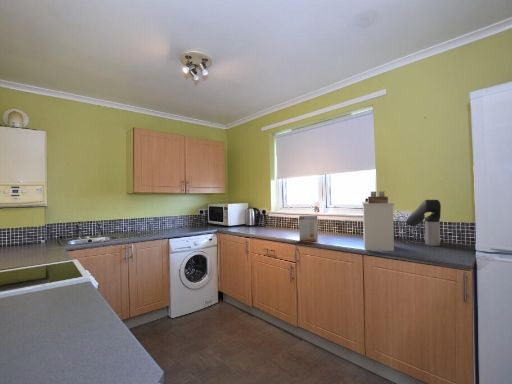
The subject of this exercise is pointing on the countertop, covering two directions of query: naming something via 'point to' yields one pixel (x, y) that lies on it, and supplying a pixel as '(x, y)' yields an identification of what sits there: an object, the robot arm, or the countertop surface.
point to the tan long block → (378, 198)
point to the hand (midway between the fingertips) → (375, 199)
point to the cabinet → (378, 226)
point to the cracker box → (308, 228)
